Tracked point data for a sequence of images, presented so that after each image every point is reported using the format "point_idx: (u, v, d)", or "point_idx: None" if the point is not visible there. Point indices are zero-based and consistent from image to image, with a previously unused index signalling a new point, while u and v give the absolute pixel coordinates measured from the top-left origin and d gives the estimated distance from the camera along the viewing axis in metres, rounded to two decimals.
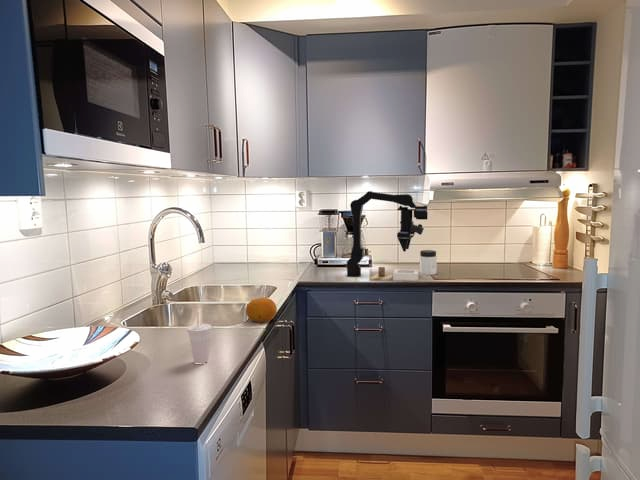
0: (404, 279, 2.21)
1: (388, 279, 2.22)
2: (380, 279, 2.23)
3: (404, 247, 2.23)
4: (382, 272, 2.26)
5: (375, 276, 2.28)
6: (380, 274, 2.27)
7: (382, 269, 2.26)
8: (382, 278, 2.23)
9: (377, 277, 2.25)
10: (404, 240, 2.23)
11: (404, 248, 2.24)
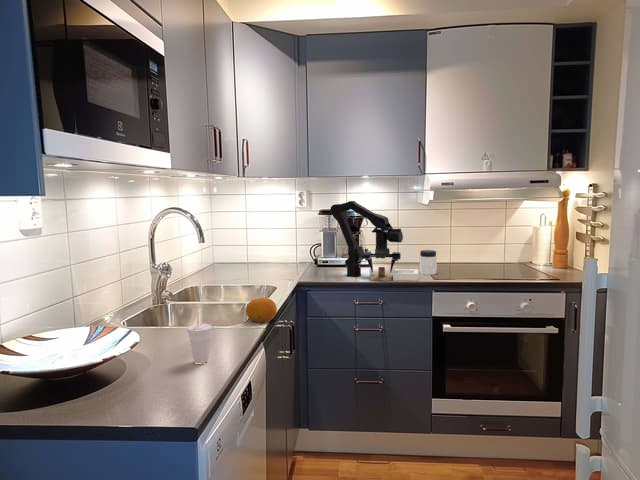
0: (404, 279, 2.21)
1: (388, 279, 2.22)
2: (380, 279, 2.23)
3: None
4: (382, 272, 2.26)
5: (375, 276, 2.28)
6: (380, 274, 2.27)
7: (382, 269, 2.26)
8: (382, 278, 2.23)
9: (377, 277, 2.25)
10: None
11: (371, 269, 2.29)
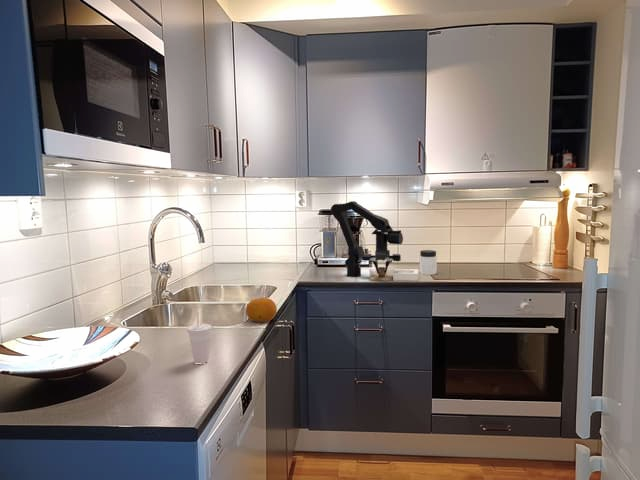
0: (404, 279, 2.21)
1: (388, 279, 2.22)
2: (380, 279, 2.23)
3: None
4: (382, 272, 2.26)
5: (375, 276, 2.28)
6: (380, 274, 2.27)
7: (382, 269, 2.26)
8: (382, 278, 2.23)
9: (377, 277, 2.25)
10: None
11: None
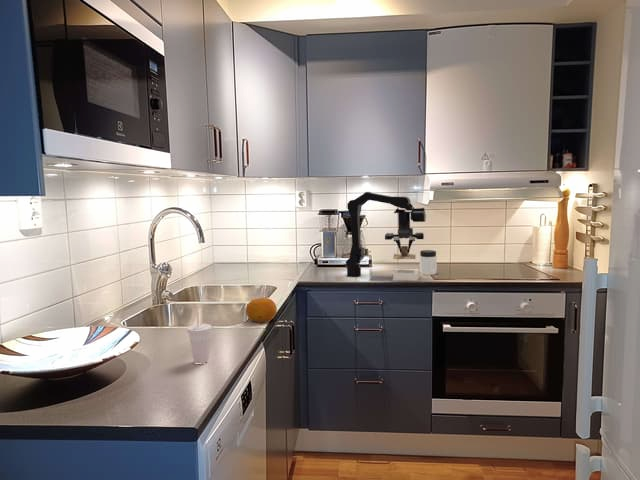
0: (404, 279, 2.21)
1: (412, 257, 2.20)
2: (403, 258, 2.20)
3: (399, 249, 2.26)
4: (405, 251, 2.24)
5: (398, 255, 2.25)
6: (403, 253, 2.24)
7: (405, 248, 2.23)
8: (405, 257, 2.20)
9: (400, 256, 2.23)
10: None
11: None
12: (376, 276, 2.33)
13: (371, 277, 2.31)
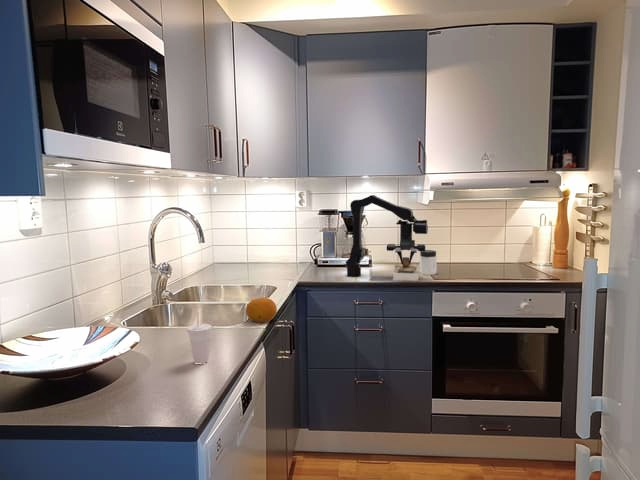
0: (404, 279, 2.21)
1: (413, 269, 2.20)
2: (405, 269, 2.21)
3: None
4: (406, 262, 2.24)
5: (399, 266, 2.26)
6: (404, 264, 2.25)
7: (406, 259, 2.24)
8: (407, 268, 2.21)
9: (401, 267, 2.23)
10: None
11: None
12: (376, 276, 2.33)
13: (371, 277, 2.31)
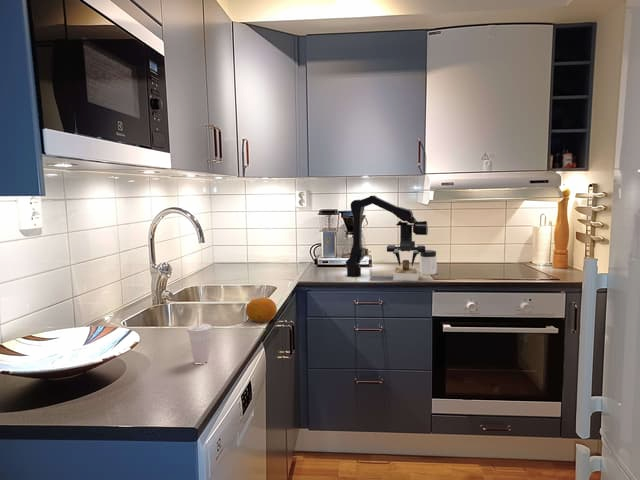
0: (404, 279, 2.21)
1: (413, 272, 2.20)
2: (405, 272, 2.21)
3: (398, 261, 2.27)
4: (406, 265, 2.24)
5: (399, 269, 2.26)
6: (404, 267, 2.25)
7: (406, 262, 2.24)
8: (407, 271, 2.21)
9: (402, 270, 2.23)
10: None
11: (398, 262, 2.27)
12: (376, 276, 2.33)
13: (371, 277, 2.31)
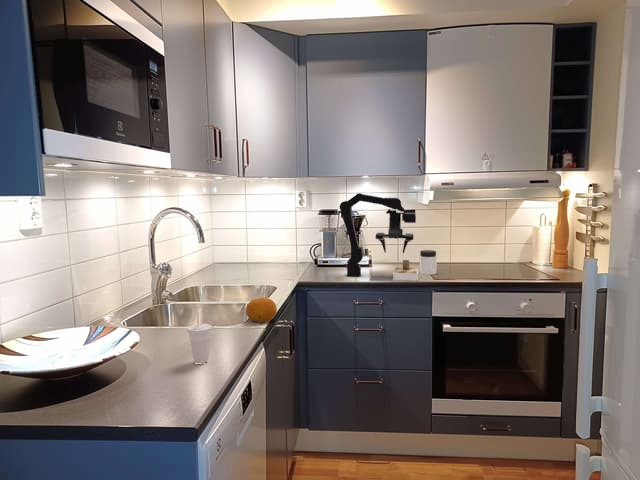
0: (404, 279, 2.21)
1: (413, 272, 2.20)
2: (405, 272, 2.21)
3: None
4: (406, 265, 2.24)
5: (399, 269, 2.26)
6: (404, 267, 2.25)
7: (406, 262, 2.24)
8: (407, 271, 2.21)
9: (402, 270, 2.23)
10: None
11: None
12: (376, 276, 2.33)
13: (371, 277, 2.31)
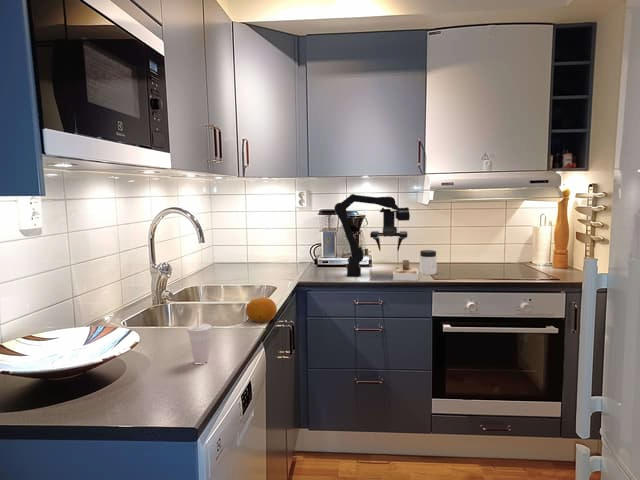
0: (404, 279, 2.21)
1: (413, 272, 2.20)
2: (405, 272, 2.21)
3: (378, 246, 2.36)
4: (406, 265, 2.24)
5: (399, 269, 2.26)
6: (404, 267, 2.25)
7: (406, 262, 2.24)
8: (407, 271, 2.21)
9: (402, 270, 2.23)
10: None
11: (378, 247, 2.36)
12: (376, 276, 2.33)
13: (371, 277, 2.31)
